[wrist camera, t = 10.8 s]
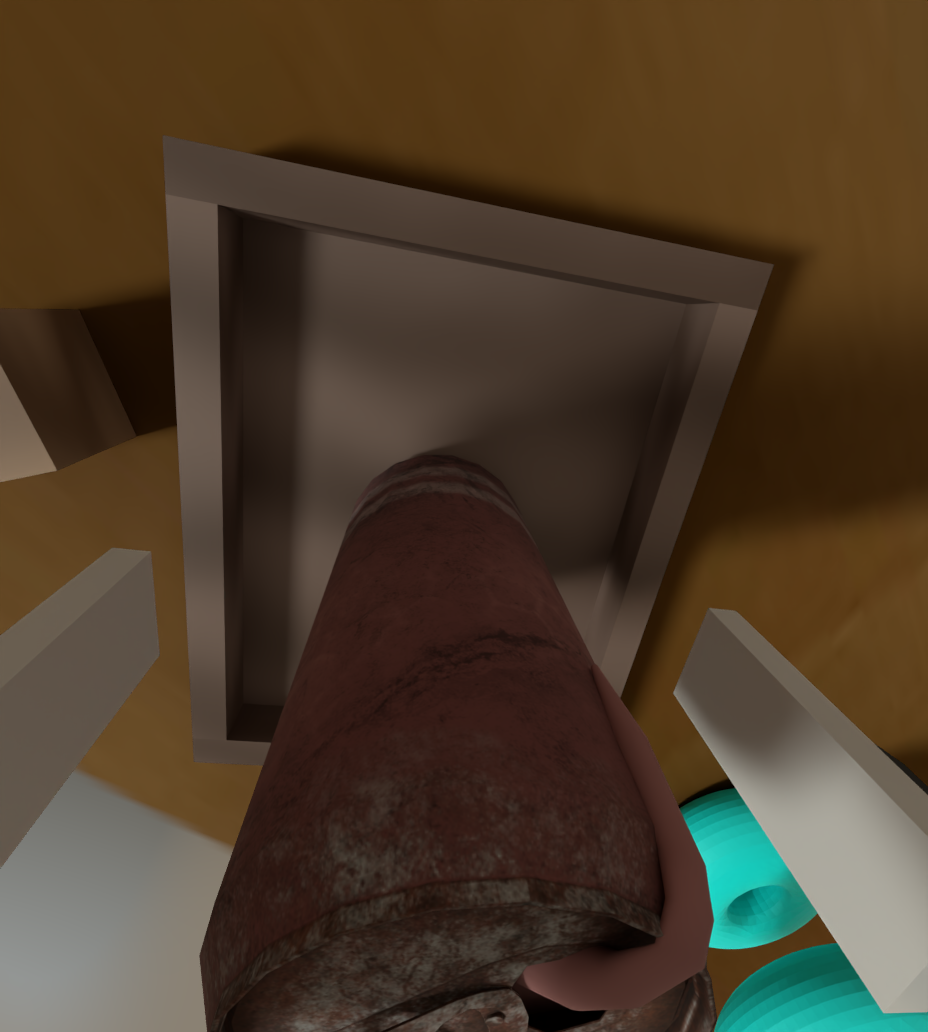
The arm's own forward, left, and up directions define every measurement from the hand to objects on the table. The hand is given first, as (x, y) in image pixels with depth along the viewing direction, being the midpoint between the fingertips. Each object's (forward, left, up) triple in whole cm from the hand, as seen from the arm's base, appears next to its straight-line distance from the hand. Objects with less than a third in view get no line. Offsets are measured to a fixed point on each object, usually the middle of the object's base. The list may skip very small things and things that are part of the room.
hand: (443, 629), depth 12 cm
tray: (0, 0, -7) cm, 7 cm away
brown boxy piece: (-3, -13, -7) cm, 15 cm away
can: (0, 0, -7) cm, 7 cm away
